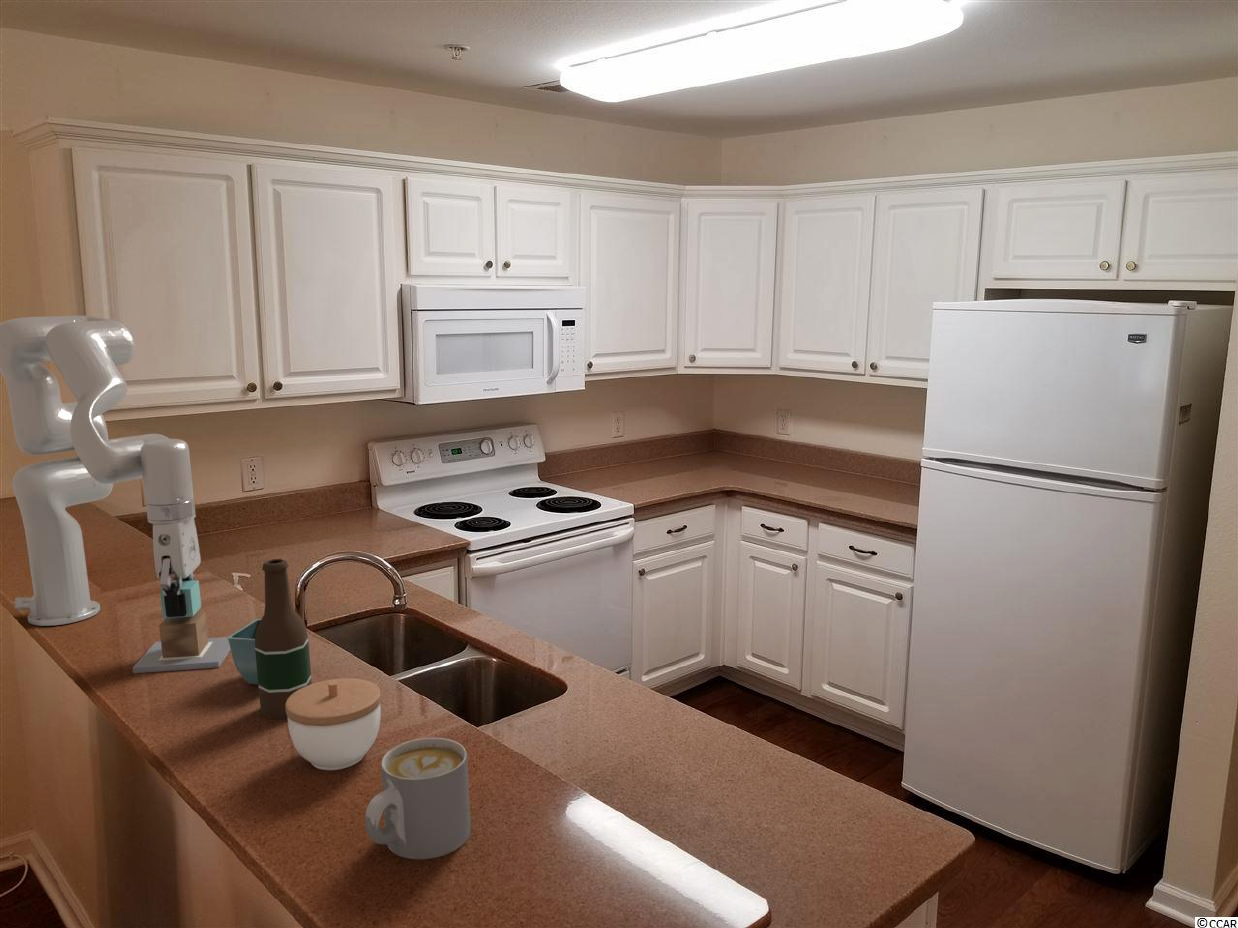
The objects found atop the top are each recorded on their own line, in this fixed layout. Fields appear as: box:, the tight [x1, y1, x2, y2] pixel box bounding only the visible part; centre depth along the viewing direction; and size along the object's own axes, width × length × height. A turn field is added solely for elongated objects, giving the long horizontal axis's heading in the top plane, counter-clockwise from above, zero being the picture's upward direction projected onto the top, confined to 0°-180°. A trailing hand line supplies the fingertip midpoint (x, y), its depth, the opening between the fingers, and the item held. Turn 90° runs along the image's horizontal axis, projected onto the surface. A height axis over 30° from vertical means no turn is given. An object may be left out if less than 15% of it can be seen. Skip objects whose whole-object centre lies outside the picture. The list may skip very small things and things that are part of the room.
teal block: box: [159, 579, 202, 619], centre depth 164 cm, size 5×5×5 cm
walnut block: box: [158, 611, 209, 658], centre depth 165 cm, size 6×6×6 cm
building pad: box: [132, 636, 231, 674], centre depth 166 cm, size 14×12×1 cm
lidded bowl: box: [285, 677, 382, 771], centre depth 129 cm, size 13×13×11 cm
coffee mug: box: [364, 737, 472, 860], centre depth 109 cm, size 13×10×10 cm
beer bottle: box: [255, 558, 313, 720], centre depth 143 cm, size 8×8×24 cm
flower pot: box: [227, 618, 262, 685], centre depth 155 cm, size 9×9×9 cm
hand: (181, 609), depth 164 cm, fingers closed on teal block, 5 cm apart
